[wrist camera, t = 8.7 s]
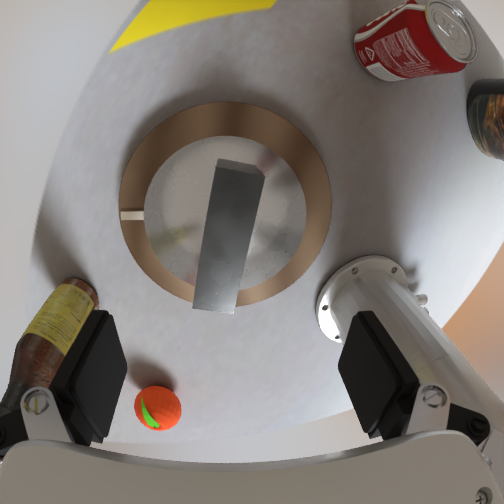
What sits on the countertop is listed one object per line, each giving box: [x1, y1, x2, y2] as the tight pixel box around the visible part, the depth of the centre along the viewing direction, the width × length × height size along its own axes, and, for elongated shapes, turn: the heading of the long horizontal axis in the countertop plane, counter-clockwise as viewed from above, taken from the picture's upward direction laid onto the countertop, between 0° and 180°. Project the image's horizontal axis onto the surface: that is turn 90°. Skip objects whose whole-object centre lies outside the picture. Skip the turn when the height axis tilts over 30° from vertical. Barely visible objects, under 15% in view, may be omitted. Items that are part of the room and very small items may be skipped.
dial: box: [144, 136, 306, 314], centre depth 21 cm, size 14×14×7 cm
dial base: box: [119, 102, 332, 307], centre depth 26 cm, size 20×20×2 cm
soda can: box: [354, 0, 478, 82], centre depth 16 cm, size 7×7×12 cm
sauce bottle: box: [0, 278, 99, 417], centre depth 20 cm, size 7×6×20 cm
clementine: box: [134, 386, 181, 431], centre depth 33 cm, size 8×7×7 cm
